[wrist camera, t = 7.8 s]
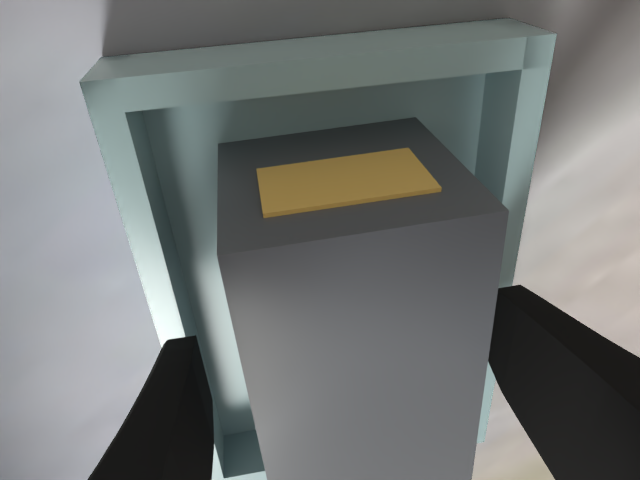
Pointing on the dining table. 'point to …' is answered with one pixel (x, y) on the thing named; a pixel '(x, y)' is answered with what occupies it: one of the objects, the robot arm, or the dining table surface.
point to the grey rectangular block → (360, 299)
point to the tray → (288, 118)
